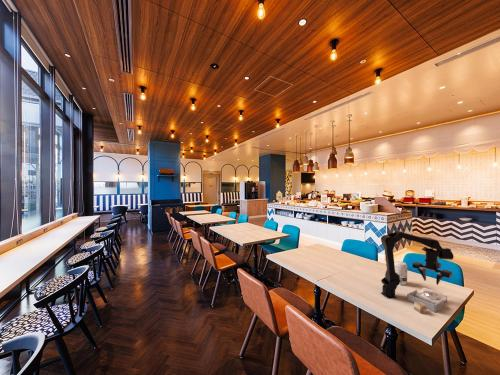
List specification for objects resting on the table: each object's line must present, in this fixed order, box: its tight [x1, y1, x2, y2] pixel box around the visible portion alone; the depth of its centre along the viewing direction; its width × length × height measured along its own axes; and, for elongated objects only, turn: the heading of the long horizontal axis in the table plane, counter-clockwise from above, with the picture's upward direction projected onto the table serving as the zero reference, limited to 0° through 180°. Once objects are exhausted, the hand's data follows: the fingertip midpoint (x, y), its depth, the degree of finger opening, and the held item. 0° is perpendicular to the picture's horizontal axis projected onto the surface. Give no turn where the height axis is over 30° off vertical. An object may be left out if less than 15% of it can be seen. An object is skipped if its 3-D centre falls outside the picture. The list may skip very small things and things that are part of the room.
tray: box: [415, 287, 448, 304], centre depth 131 cm, size 12×12×4 cm
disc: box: [424, 291, 438, 300], centre depth 131 cm, size 7×7×2 cm
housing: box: [406, 289, 445, 313], centre depth 127 cm, size 12×14×4 cm
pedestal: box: [413, 302, 428, 314], centre depth 119 cm, size 4×4×4 cm
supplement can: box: [394, 260, 408, 286], centre depth 153 cm, size 8×8×15 cm
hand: (431, 282), depth 130 cm, fingers open, 6 cm apart
